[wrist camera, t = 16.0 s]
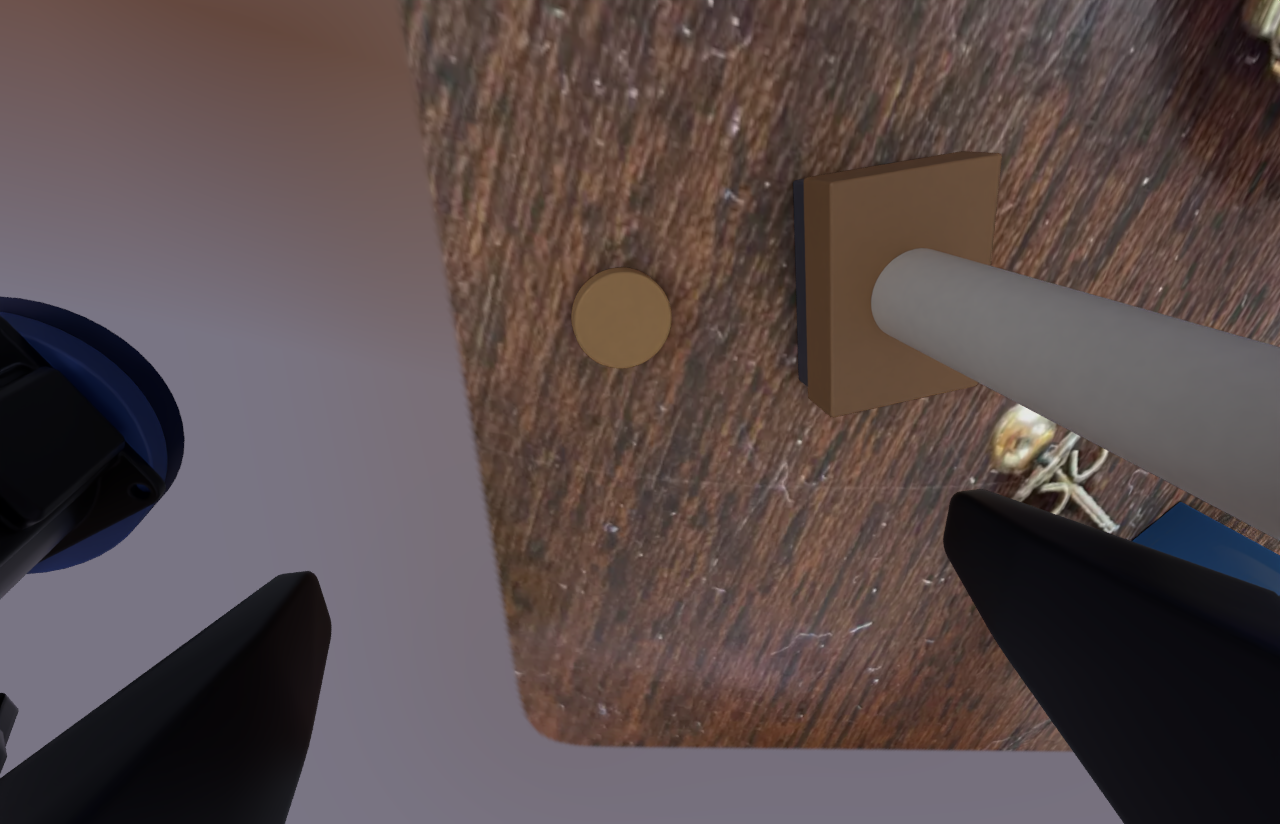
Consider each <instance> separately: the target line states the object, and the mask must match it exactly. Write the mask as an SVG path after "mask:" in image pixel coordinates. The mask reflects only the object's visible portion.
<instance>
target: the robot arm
mask: <svg viewBox="0 0 1280 824" xmlns="http://www.w3.org/2000/svg"><path fill="white" fill-rule="evenodd" d="M137 484H140V485H144V486H146V487H147V488H148V489H149V490H150V492H149V493H147V492H143V491H141V490H139V489H138V487H137ZM165 489H166V487H165V482H164V481H163V479H162V478H161V477H160V476H159V475H158V474H157V473H156V471H155V470H154V469H153V468H152V467H151V466H150V465H149V464H148V463H147V462H146V461H145V460H144V459H143V458H142V457H141V456H140V455H139V454H138V453H137V452H136V451H135V450H134V449H133V448H132V447H131V446H130V445H129V444H128V443H127V442H126V441H125V439H124V437H123V435H122V434H121V433H120V432H119V431H118V430H117V429H116V428H115V427H114V426H113V425H112V424H111V423H110V422H109V421H108V420H107V419H106V418H105V417H104V416H103V415H102V414H101V413H100V412H99V411H98V410H97V409H96V408H95V407H94V406H93V405H92V404H91V403H90V402H89V401H88V400H87V399H86V398H85V397H84V396H83V395H82V394H81V393H80V392H79V391H78V390H77V389H76V388H75V387H74V386H73V385H72V384H71V383H70V382H69V381H68V380H67V378H66V377H65V376H64V375H63V374H62V373H61V372H60V371H58V370H56V369H54V368H53V367H52V366H51V365H50V364H49V363H48V362H47V361H46V360H45V359H44V358H43V357H42V356H41V355H40V354H39V353H38V352H37V351H36V350H35V349H34V348H33V347H32V346H31V345H30V344H29V343H28V342H27V341H26V340H25V339H24V338H23V337H22V336H21V335H20V334H19V333H18V332H17V331H16V330H15V329H14V328H13V327H12V326H11V325H10V324H9V323H8V322H7V320H5V319H4V318H3V317H1V316H0V599H1V598H2V597H3V596H4V595H5V594H6V593H7V592H8V591H9V590H10V589H11V588H12V587H13V586H14V585H15V584H17V583H18V581H20V580H21V579H22V578H23V577H24V576H25V575H26V574H27V573H28V572H29V571H30V570H31V569H32V568H33V567H34V566H35V565H36V564H38V563H40V562H42V561H44V560H45V559H47V558H49V557H51V556H53V555H55V554H57V553H59V552H61V551H63V550H65V549H67V548H69V547H71V546H73V545H75V544H77V543H78V542H80V541H82V540H84V539H86V538H88V537H90V536H92V535H94V534H96V533H98V532H100V531H102V530H104V529H106V528H108V527H110V526H112V525H113V524H115V523H117V522H119V521H121V520H123V519H125V518H127V517H129V516H131V515H133V514H135V513H137V512H139V511H141V510H143V509H145V508H147V507H148V506H150V505H152V504H154V503H155V502H156V501H157V500H158V499H159V498H160V497H161V496H162V495H163V494H164V491H165ZM943 542H944V549H945V552H946V554H947V557H948V558H949V560H950V562H951V564H952V565H953V567H954V569H955V571H956V572H957V574H958V576H959V578H960V580H961V581H962V583H963V585H964V587H965V588H966V590H967V592H968V594H969V595H970V597H971V599H972V601H973V602H974V604H975V606H976V608H977V609H978V611H979V613H980V615H981V617H982V618H983V620H984V622H985V624H986V625H987V627H988V629H989V630H990V632H991V634H992V635H993V637H994V639H995V640H996V642H997V644H998V645H999V647H1000V648H1001V650H1002V651H1003V653H1004V654H1005V655H1006V657H1007V658H1008V660H1009V661H1010V663H1011V664H1012V666H1013V667H1014V668H1015V670H1016V671H1017V673H1018V674H1019V675H1020V677H1021V678H1022V680H1023V681H1024V683H1025V684H1026V685H1027V687H1028V688H1029V690H1030V691H1031V692H1032V694H1033V695H1034V697H1035V698H1036V700H1037V701H1038V702H1039V704H1040V705H1041V707H1042V708H1043V709H1044V711H1045V712H1046V714H1047V715H1048V716H1049V718H1050V719H1051V721H1052V722H1053V724H1054V725H1055V726H1056V728H1057V729H1058V731H1059V732H1060V733H1061V735H1062V736H1063V738H1064V739H1065V741H1066V742H1067V743H1068V745H1069V746H1070V748H1071V749H1072V750H1073V752H1074V753H1075V755H1076V756H1077V757H1078V759H1079V760H1080V762H1081V763H1082V764H1083V766H1084V767H1085V769H1086V770H1087V772H1088V773H1089V775H1090V776H1091V777H1092V779H1093V780H1094V782H1095V783H1096V784H1097V786H1098V787H1099V789H1100V790H1101V792H1103V794H1104V796H1105V797H1106V798H1107V800H1108V801H1109V803H1110V804H1111V806H1112V807H1113V808H1114V810H1115V811H1116V813H1117V814H1118V816H1119V817H1120V818H1121V820H1122V821H1123V823H1124V824H1280V595H1279V596H1278V595H1277V594H1276V593H1275V592H1274V591H1271V590H1269V589H1266V588H1263V587H1260V586H1257V585H1254V584H1252V583H1249V582H1246V581H1243V580H1240V579H1237V578H1235V577H1232V576H1229V575H1226V574H1223V573H1220V572H1217V571H1215V570H1212V569H1209V568H1206V567H1203V566H1200V565H1198V564H1195V563H1192V562H1189V561H1186V560H1183V559H1181V558H1178V557H1175V556H1172V555H1169V554H1166V553H1163V552H1161V551H1158V550H1155V549H1152V548H1149V547H1146V546H1144V545H1141V544H1138V543H1135V542H1132V541H1129V540H1127V539H1124V538H1121V537H1118V536H1115V535H1112V534H1109V533H1107V532H1104V531H1101V530H1098V529H1095V528H1092V527H1090V526H1087V525H1084V524H1081V523H1078V522H1075V521H1073V520H1070V519H1067V518H1064V517H1061V516H1058V515H1055V514H1053V513H1050V512H1047V511H1044V510H1041V509H1038V508H1036V507H1033V506H1030V505H1027V504H1024V503H1021V502H1019V501H1016V500H1013V499H1010V498H1007V497H1004V496H1001V495H999V494H996V493H993V492H990V491H987V490H983V489H977V490H969V491H961V492H957V493H956V494H954V495H953V497H952V498H951V501H950V505H949V510H948V516H947V521H946V526H945V532H944V538H943ZM330 639H331V620H330V616H329V613H328V610H327V606H326V603H325V600H324V597H323V594H322V591H321V588H320V585H319V581H318V579H317V577H316V576H315V574H314V573H312V572H310V571H305V572H296V573H287V574H282V575H278V576H277V577H275V578H274V579H272V580H271V581H270V582H268V583H267V584H265V585H264V586H263V587H261V588H260V589H259V590H257V591H256V592H255V593H253V594H252V595H250V596H249V597H248V598H247V599H245V600H244V601H242V602H241V603H240V604H238V605H237V606H236V607H234V608H233V609H231V610H230V611H229V612H227V613H226V614H224V615H223V616H222V617H220V618H219V619H218V620H216V621H215V622H214V623H212V624H211V625H209V626H208V627H207V628H205V629H204V630H203V631H201V632H200V633H199V634H197V635H196V636H195V637H193V638H192V639H190V640H189V641H188V642H187V643H185V644H183V645H182V646H181V647H179V648H178V649H177V650H176V651H174V652H173V653H171V654H170V655H169V656H167V657H166V658H164V659H163V660H162V661H160V662H159V663H157V664H156V665H155V666H153V667H152V668H151V669H149V670H148V671H147V672H145V673H144V674H142V675H141V676H140V677H138V678H137V679H136V680H134V681H133V682H132V683H130V684H129V685H128V686H126V687H125V688H123V689H122V690H121V691H119V692H118V693H116V694H115V695H114V696H112V697H111V698H110V699H108V700H107V701H106V702H104V703H103V704H101V705H100V706H99V707H98V708H96V709H95V710H93V711H92V712H90V713H89V714H88V715H87V716H85V717H84V718H82V719H81V720H80V721H78V722H77V723H75V724H74V725H73V726H71V727H70V728H69V729H67V730H66V731H64V732H63V733H62V734H60V735H59V736H58V737H56V738H55V739H53V740H52V741H51V742H49V743H48V744H47V745H45V746H44V747H43V748H41V749H40V750H39V751H37V752H36V753H34V754H33V755H32V756H30V757H29V758H28V759H27V760H25V761H23V762H22V763H21V764H19V765H18V766H17V767H15V768H14V769H12V770H11V771H10V772H8V773H7V774H6V775H4V776H3V777H2V778H0V824H285V821H286V818H287V815H288V812H289V808H290V806H291V802H292V799H293V796H294V793H295V790H296V787H297V784H298V781H299V777H300V774H301V771H302V767H303V765H304V761H305V758H306V754H307V750H308V747H309V743H310V739H311V734H312V730H313V725H314V720H315V715H316V710H317V705H318V700H319V694H320V689H321V685H322V679H323V675H324V670H325V665H326V659H327V654H328V649H329V644H330ZM17 714H18V708H17V707H16V706H15V705H14V704H13V702H12V701H11V700H10V699H9V698H8V697H7V695H6V694H4V693H0V773H1V770H2V768H3V765H4V763H5V761H6V758H7V753H6V748H5V747H6V744H7V741H8V738H9V736H10V733H11V730H12V727H13V725H14V722H15V719H16V716H17Z"/></svg>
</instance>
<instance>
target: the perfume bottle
mask: <svg viewBox="0 0 1280 824" xmlns="http://www.w3.org/2000/svg"><path fill="white" fill-rule="evenodd" d="M1132 542H1135V543H1138V544H1141V545H1144V546H1146V547H1149V548H1152V549H1155V550H1158V551H1161V552H1163V553H1166V554H1169V555H1172V556H1175V557H1178V558H1181V559H1183V560H1186V561H1189V562H1192V563H1195V564H1198V565H1200V566H1203V567H1206V568H1209V569H1212V570H1215V571H1217V572H1220V573H1223V574H1226V575H1229V576H1232V577H1235V578H1237V579H1240V580H1243V581H1246V582H1249V583H1252V584H1254V585H1257V586H1260V587H1263V588H1266V589H1269V590H1271V591H1274V592H1275V593H1276V594H1277V595H1278V596H1279V595H1280V555H1278V554H1276V553H1274V552H1272V551H1271V550H1269V549H1267V548H1265V547H1263V546H1261V545H1260V544H1258V543H1256V542H1254V541H1252V540H1250V539H1248V538H1247V537H1245V536H1243V535H1241V534H1239V533H1237V532H1236V531H1234V530H1232V529H1230V528H1228V527H1226V526H1225V525H1223V524H1221V523H1219V522H1217V521H1215V520H1214V519H1212V518H1210V517H1208V516H1206V515H1204V514H1202V513H1201V512H1199V511H1197V510H1195V509H1193V508H1191V507H1190V506H1188V505H1186V504H1184V503H1182V502H1179V503H1178V504H1177V505H1175V506H1174V507H1173V508H1172V509H1171V510H1169V511H1168V512H1167V513H1166V514H1164V515H1163V516H1162V517H1161V518H1160V519H1158V520H1157V521H1156V522H1155V523H1153V524H1152V525H1151V526H1150V527H1149V528H1147V529H1146V530H1145V531H1144V532H1143V533H1141V534H1140V535H1139V536H1138V537H1136V538H1135V539H1134V540H1133V541H1132Z"/></svg>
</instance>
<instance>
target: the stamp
mask: <svg viewBox="0 0 1280 824" xmlns="http://www.w3.org/2000/svg"><path fill="white" fill-rule="evenodd" d="M1001 161H1002V155H1001V154H999V153H985V152H967V151H961V152H955V153H949V154H943V155H937V156H931V157H925V158H919V159H913V160H907V161H901V162H895V163H889V164H883V165H877V166H871V167H865V168H859V169H853V170H847V171H841V172H835V173H829V174H823V175H818V176H812V177H806V178H805V179H800V180H796V181H794V183H793V192H794V228H795V264H796V300H797V336H798V373H799V380H800V381H801V382H802V383H804V384H805V385H806V386H807V387H808V398H809V399H810V400H811V401H812V402H814V403H815V404H816V405H817V406H818V407H819V408H821V409H822V410H823V411H824V412H825V413H826V414H828V415H829V416H830V417H833V418H834V417H838V416H843V415H847V414H852V413H856V412H861V411H865V410H870V409H874V408H879V407H883V406H888V405H892V404H897V403H901V402H906V401H910V400H915V399H919V398H924V397H928V396H933V395H937V394H942V393H946V392H951V391H955V390H960V389H964V388H969V387H973V386H977V385H978V384H979V383H981V384H982V385H984V386H986V387H988V388H990V389H992V390H994V391H996V392H998V393H1000V394H1001V395H1003V396H1005V397H1007V398H1009V399H1011V400H1013V401H1015V402H1017V403H1019V404H1020V405H1022V406H1024V407H1026V408H1028V409H1030V410H1032V411H1034V412H1036V413H1038V414H1039V415H1041V416H1043V417H1045V418H1047V419H1049V420H1051V421H1053V422H1055V423H1057V424H1058V425H1060V426H1062V427H1064V428H1066V429H1068V430H1070V431H1072V432H1074V433H1076V434H1077V435H1079V436H1081V437H1083V438H1085V439H1087V440H1089V441H1091V442H1093V443H1095V444H1096V445H1098V446H1100V447H1102V448H1104V449H1106V450H1108V451H1110V452H1112V453H1114V454H1115V455H1117V456H1119V457H1121V458H1123V459H1125V460H1127V461H1129V462H1131V463H1133V464H1134V465H1136V466H1138V467H1140V468H1142V469H1144V470H1146V471H1148V472H1150V473H1152V474H1154V475H1155V476H1157V477H1159V478H1161V479H1163V480H1165V481H1167V482H1169V483H1171V484H1173V485H1174V486H1176V487H1178V488H1180V489H1182V490H1184V491H1186V492H1188V493H1190V494H1192V495H1193V496H1195V497H1197V498H1199V499H1201V500H1203V501H1205V502H1207V503H1209V504H1211V505H1212V506H1214V507H1216V508H1218V509H1220V510H1222V511H1224V512H1226V513H1228V514H1230V515H1231V516H1233V517H1235V518H1237V519H1239V520H1241V521H1243V522H1245V523H1247V524H1249V525H1250V526H1252V527H1254V528H1256V529H1258V530H1260V531H1262V532H1264V533H1266V534H1268V535H1269V536H1271V537H1273V538H1275V539H1277V540H1279V541H1280V347H1277V346H1274V345H1270V344H1267V343H1263V342H1259V341H1256V340H1252V339H1249V338H1245V337H1242V336H1238V335H1234V334H1231V333H1227V332H1224V331H1220V330H1217V329H1213V328H1210V327H1206V326H1202V325H1199V324H1195V323H1192V322H1188V321H1185V320H1181V319H1178V318H1174V317H1170V316H1167V315H1163V314H1160V313H1156V312H1153V311H1149V310H1146V309H1142V308H1138V307H1135V306H1131V305H1128V304H1124V303H1121V302H1117V301H1113V300H1110V299H1106V298H1103V297H1099V296H1096V295H1092V294H1089V293H1085V292H1081V291H1078V290H1074V289H1071V288H1067V287H1064V286H1060V285H1057V284H1053V283H1049V282H1046V281H1042V280H1039V279H1035V278H1032V277H1028V276H1025V275H1021V274H1017V273H1014V272H1010V271H1007V270H1003V269H1000V268H996V267H993V266H991V259H992V249H993V239H994V229H995V220H996V210H997V200H998V190H999V181H1000V171H1001Z"/></svg>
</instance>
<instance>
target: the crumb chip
mask: <svg viewBox="0 0 1280 824" xmlns="http://www.w3.org/2000/svg"><path fill="white" fill-rule="evenodd" d="M571 319H572V327H573V331H574V334H575V336H576V338H577V341H578V343H579V345H580V347H581V348H582V350H583V351H584V352H585V353H586V354H587V355H588V356H589V357H590V358H591V359H593V360H594V361H595V362H597V363H599V364H601V365H604V366H607V367H611V368H630V367H634V366H637V365H640V364H642V363H644V362H646V361H647V360H649V359H650V358H652V357H653V356H654V355H655V354H656V353H657V352H658V351H659V350H660V349H661V348H662V346H663V345H664V343H665V342H666V340H667V337H668V335H669V332H670V329H671V323H672V313H671V307H670V303H669V300H668V298H667V296H666V294H665V292H664V291H663V290H662V288H661V287H660V286H659V285H658V284H657V283H656V282H655V281H654V280H653V279H652V278H650V277H649V276H648V275H646V274H644V273H643V272H641V271H638V270H635V269H632V268H625V267H617V268H611V269H607V270H604V271H602V272H600V273H598V274H596V275H594V276H593V277H592V278H590V279H589V280H588V281H587V282H586V283H585V284H584V285H583V286H582V288H581V289H580V290H579V292H578V294H577V295H576V298H575V300H574V303H573V307H572V314H571Z"/></svg>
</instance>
